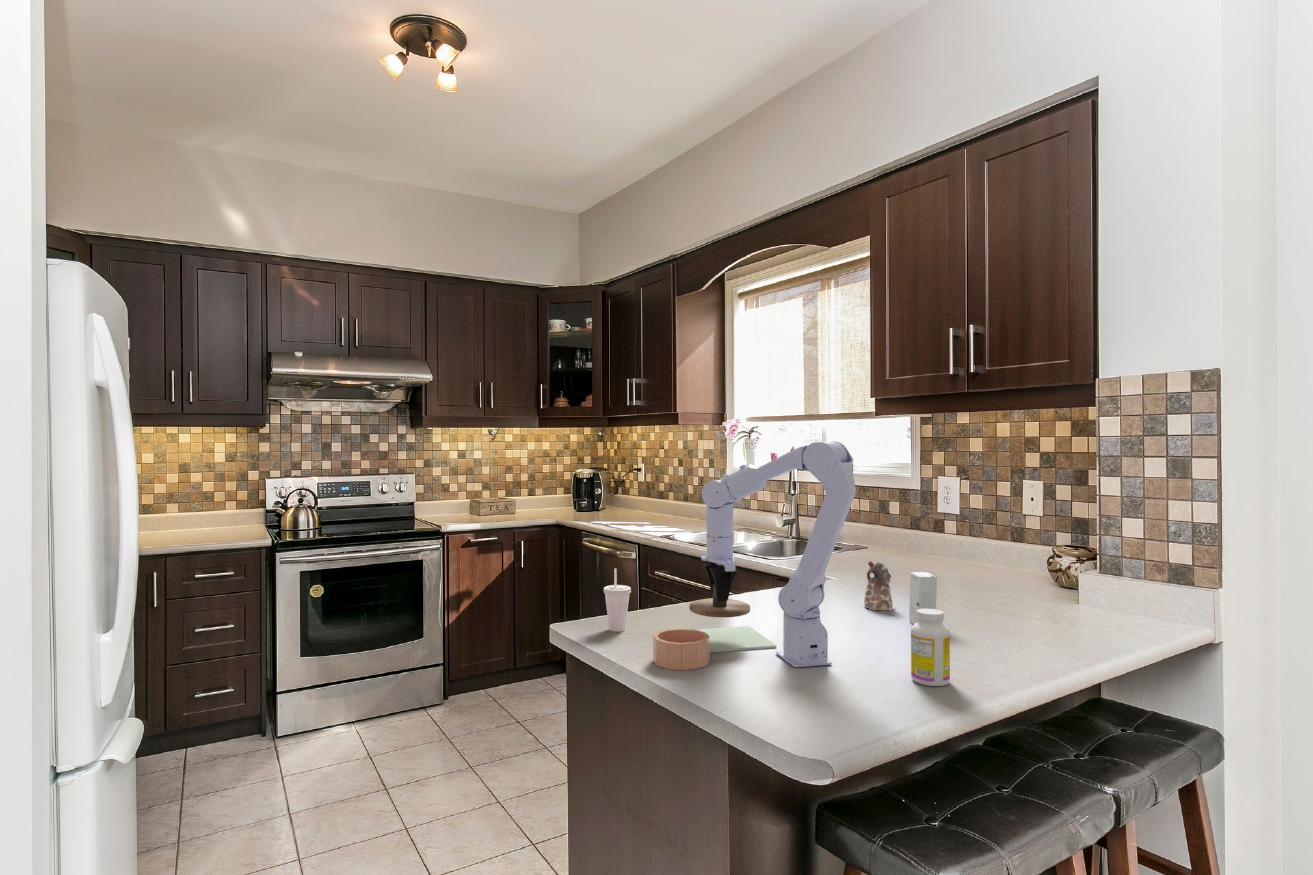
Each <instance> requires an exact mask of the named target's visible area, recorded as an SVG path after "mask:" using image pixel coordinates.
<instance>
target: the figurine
mask: <svg viewBox="0 0 1313 875" xmlns="http://www.w3.org/2000/svg"><path fill="white" fill-rule="evenodd" d="M867 565H868V567H870V568H869V569H868V570H867V572H866V578H867V584H866V588H865V593H864V598H863V601H864V603H863V605H864V608H865V607H866V608H865V609H867V608H869V609H868V610H870V609H873V610H872V611H874V610H890V609H892V608H893V609H894V607H893V606H894V605H893V598H892V594H891V588H890V583H891V577H892V575H891V574H890V573H889V568H888V567H887V565H885V564H884V563H883V562H881V561H878V562H876V563H873V562H872V560H869V561H868V562H867ZM871 574H873V575H874V576H873V577H871V576H870V575H871ZM890 611H891V610H890Z"/></svg>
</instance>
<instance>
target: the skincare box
mask: <svg viewBox="0 0 1313 875" xmlns="http://www.w3.org/2000/svg"><path fill="white" fill-rule="evenodd" d="M909 584H910V585H909V611H908V613H909V614H908V616H909V618H908V621H909V623H911V624H912V623H913V624H915V623H917V622H918V619H917V617H916V611H917V610H918V609H936V610H937V594H938V593H937V590H938V577H937V576H936V575H934V574H932V573H930V572H926V571H914V572H910V583H909ZM913 624H912V625H913Z"/></svg>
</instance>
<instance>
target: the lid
mask: <svg viewBox="0 0 1313 875" xmlns="http://www.w3.org/2000/svg"><path fill="white" fill-rule="evenodd" d="M688 609H689V612H691V613H693V614H696V615H698V616H704V617H709V618H736V617H737V618H738V617H743V616H745V615H747V614H749V613H750V612H751V606H750V604H748V603H747V602H745V601H743V600H742V601H741V600H737V599H733V598H732V599H731V598H728V601H720V602H719V601H717V597H716V590H715V584H713V597H712V598H703V599H697V600H693V601H692V602H690V603H689V608H688Z"/></svg>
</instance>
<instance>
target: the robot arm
mask: <svg viewBox="0 0 1313 875" xmlns="http://www.w3.org/2000/svg"><path fill="white" fill-rule="evenodd" d="M853 462H854V458H853V456H852V454H851V453H850V451H849V450H848V448H847V447H846V446H845V445H844V444H843V443H841V442H839V441H834V440H833V441H826V442H825V441H814V442H811V443H810V444H808V445H803V446H799V447H797V448H794V449H792V450H790V451H788V452H786V453H784V454H783V455H781V456H778V457H776V458H775V459H773V460H770V461H769V462H766V463H765V464H762V465H761V466H759V467H758V466H756V465H753V464H749V465H748V464H741V465H740V466H739V467H738V468H739V469H738V470H736V471H734V472H732V473H730V474H728V473H725V474H722V475H721V479H720V480H716V479H712V480H709V481H708V482H707V483H705V485H704V486H703V488H702V490H701V498H702V501H703V503H704V504H705V505H706V550H705V556H704V555H703V556H700V557H701V558H700V560H701V561H703V562H708V563H707V564H705V563H704V564H703V565H702V568H703V569H704V571H705V574H706V576H707V579H708V583H709V590H710V593H711V596H712V598H713V584H715V590H716V597H717V601H719V602H720V601H728V599H729V596H730V592H731V589H732V584H733V581H734V579H735V578H736V575H737V574H738V569H737V568H736V561H735V555H734V505H735V504H736V503H737V501H739V500H742V499H744V498H746V497H749V496H752V495H753V494H756V493H757V492H760V491H762V490H763V489H764V487H765V484H766V482H767V481H770V480H772V479H774V478H777V477H780V476H783V475H784V474H787V473H789V472H792V471H794V470H801V471H802V470H807V471H808V472H809V473H810V474H811V475H812V476H814V478H816V479H817V480H818V481H819V483H820V485H821V487H822V488H823V490H824V492H825V496H824V498H823V502H822V504H821V507H820V509H819V511H818V515H817V516H816V520H815V523H814V526H813V528H812V530H811V532H810V535H809V538H808V542H807V544H806V546H805V548H804V552H803V554H802V557H801V559H800V562H799V564H798V566H797V567H796V569H795V570H794V572H793V573H792V574H791V576H790V578H789V580H788V582H787V583H786V585H784V586H783V587H782V588H781V589H780V591H779V593H778V597H777V598H778V599H777V600H778V605H779V607H780V609H781V610H782V611H783V634H782V635H783V644H782V646H783V647H782V648H783V650H776V651H775V654H776V655H777V656H778V657H780V658H781V659H783V660H784V661H785V662H787V663H788V664H789V665H791V666H792V667H794V668H804V667H805V668H807V667H815V666H817V667H818V666H829V665H832V664H833V662H832V661H831V660H829V659H828V652H829V651H828V646H829V644H828V636H829V635H828V631H827V629H826V627H825V626H824V624H822V621H821V610H820V605H821V604H822V603H823V602H824V599H825V584H826V581H827V577H826V571H827V570H826V569H827V567H828V565H829V562H830V560H831V557H832V555H833V552H834V549H835V547H836V544H837V542H838V540H839V537H840V534H841V532H842V530H843V526H844V524H845V521H846V519H847V517H848V513H849V511H850V508H851V506H852V503H853V501H854V498H855V496H856V492H857V490H856V489H857V488H856V482H855V476H854V475H855V474H854V469H853V464H854V463H853Z"/></svg>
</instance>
